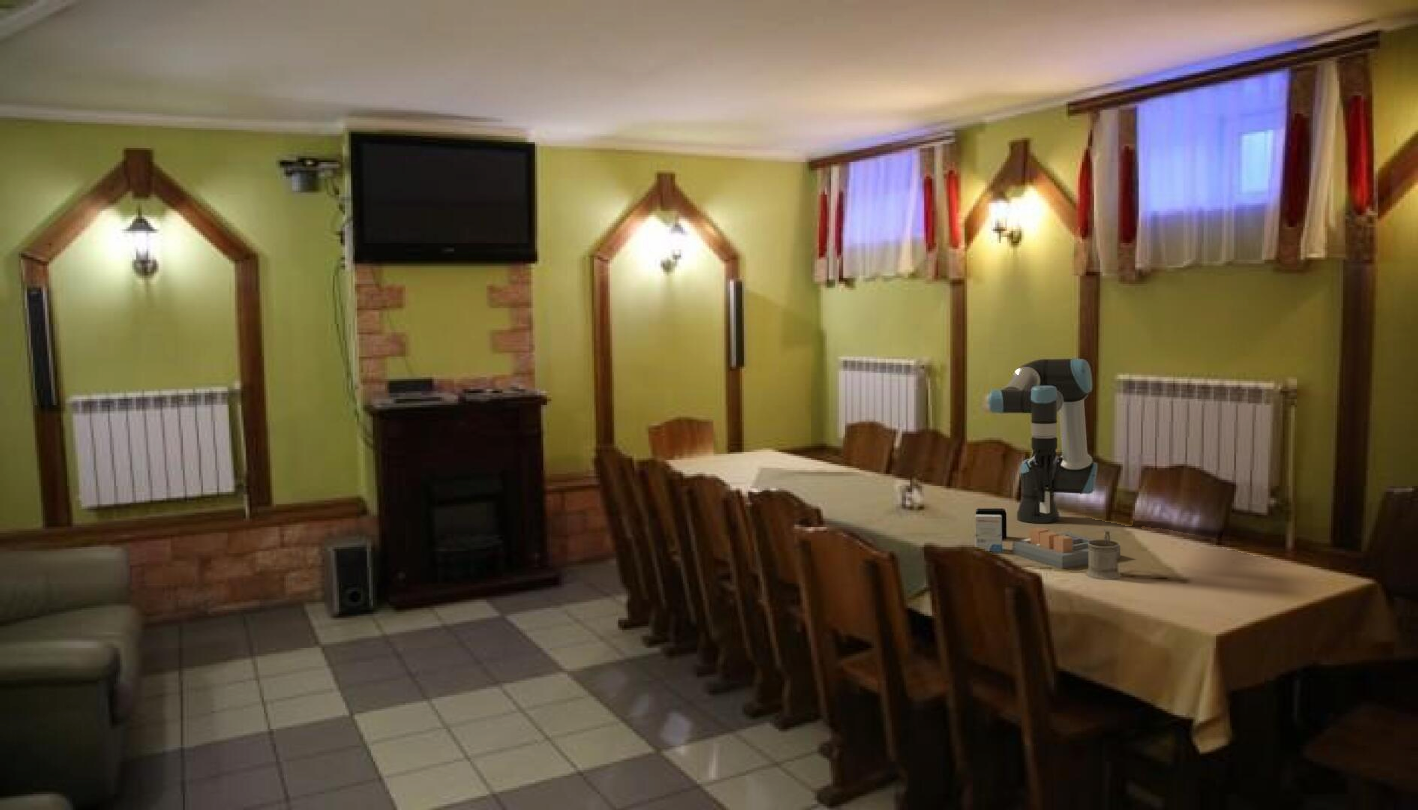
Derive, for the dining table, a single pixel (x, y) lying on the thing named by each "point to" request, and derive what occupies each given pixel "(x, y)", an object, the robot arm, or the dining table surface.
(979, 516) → the ink box
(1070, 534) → the grey divided tray
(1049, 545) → the tab
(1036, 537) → the tab
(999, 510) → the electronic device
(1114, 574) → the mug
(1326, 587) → the dining table surface
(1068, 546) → the orange block
